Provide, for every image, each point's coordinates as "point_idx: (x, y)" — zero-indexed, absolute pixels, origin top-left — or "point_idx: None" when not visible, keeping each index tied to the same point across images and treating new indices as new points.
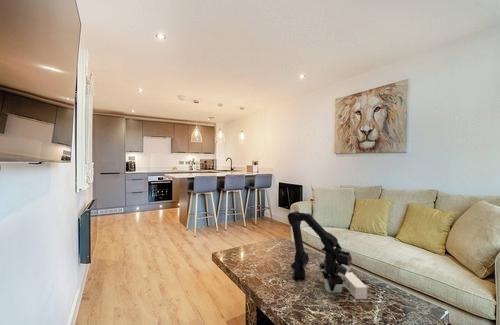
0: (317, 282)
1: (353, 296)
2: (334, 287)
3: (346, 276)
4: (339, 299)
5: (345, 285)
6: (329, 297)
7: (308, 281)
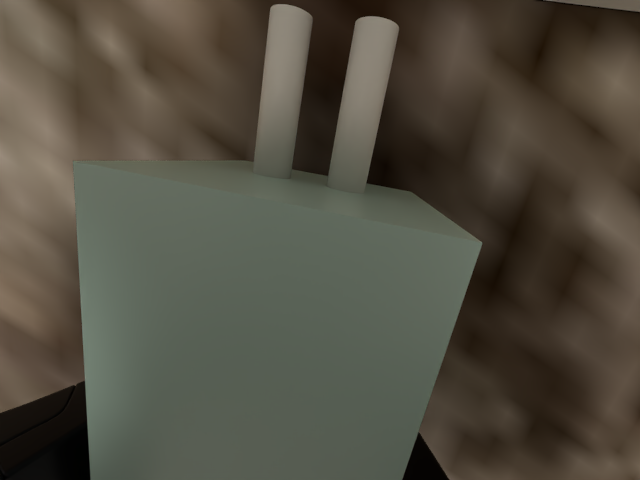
0: (72, 384)
1: (627, 9)
2: (430, 453)
3: None
4: (579, 364)
5: (385, 23)
6: (466, 463)
7: None
